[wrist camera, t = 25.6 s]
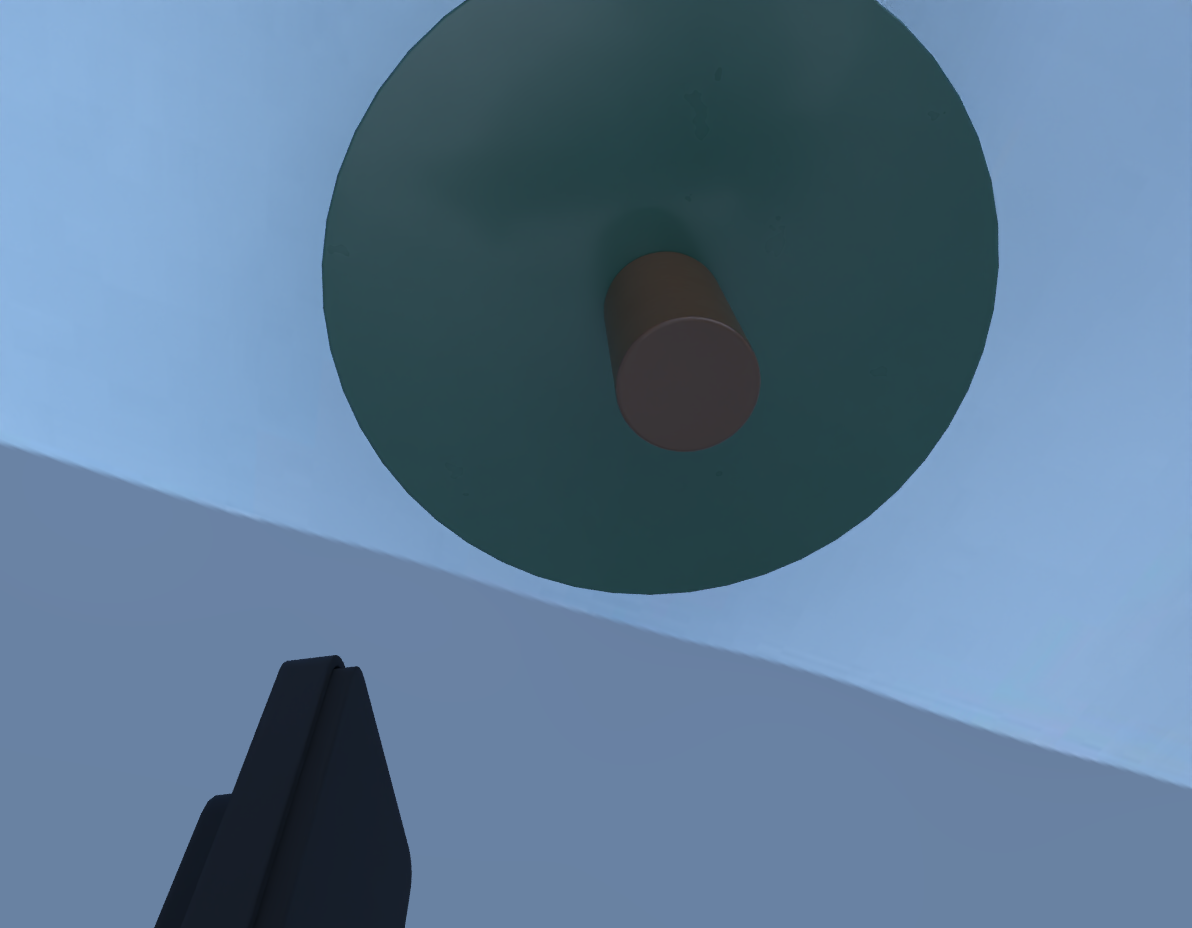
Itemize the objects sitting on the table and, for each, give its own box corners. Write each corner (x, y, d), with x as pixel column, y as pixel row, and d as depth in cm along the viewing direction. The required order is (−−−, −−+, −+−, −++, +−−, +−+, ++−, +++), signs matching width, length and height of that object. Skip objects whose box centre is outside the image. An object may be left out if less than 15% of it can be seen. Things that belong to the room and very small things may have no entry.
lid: (996, -113, 22) (1148, -139, 16) (968, 535, 29) (1068, 671, 23) (256, -17, 22) (158, -10, 17) (402, 603, 29) (367, 755, 24)
